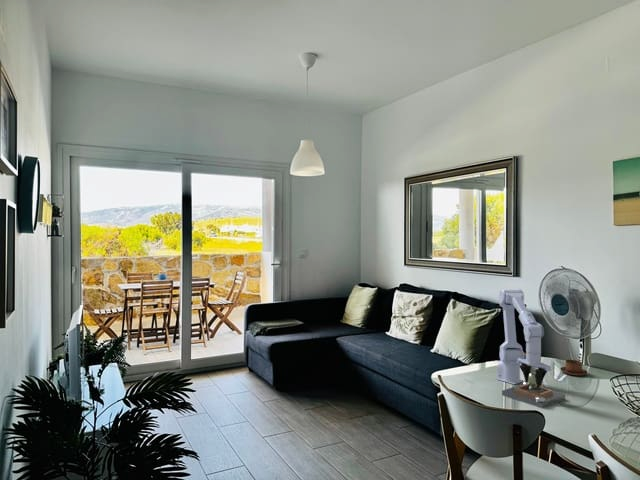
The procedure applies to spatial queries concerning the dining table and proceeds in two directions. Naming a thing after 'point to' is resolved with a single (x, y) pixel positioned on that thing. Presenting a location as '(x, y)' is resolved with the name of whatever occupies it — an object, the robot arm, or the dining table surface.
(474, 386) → the dining table surface
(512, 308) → the robot arm
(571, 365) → the cup and saucer
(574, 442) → the dining table surface
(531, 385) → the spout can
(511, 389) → the grey square slab
